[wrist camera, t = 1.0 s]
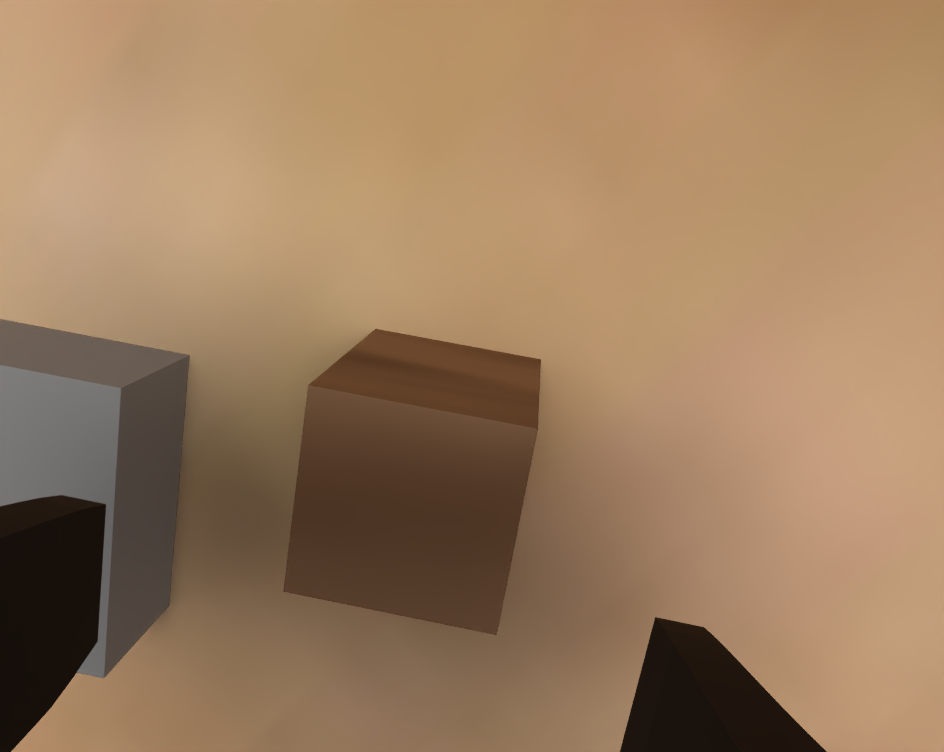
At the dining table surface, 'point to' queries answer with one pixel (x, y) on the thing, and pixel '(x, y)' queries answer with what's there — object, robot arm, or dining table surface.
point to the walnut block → (414, 479)
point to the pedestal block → (99, 458)
